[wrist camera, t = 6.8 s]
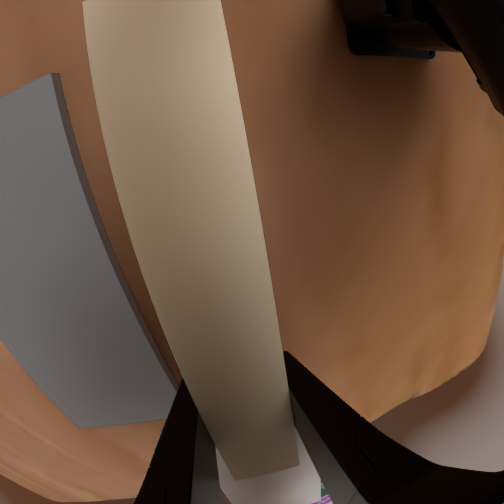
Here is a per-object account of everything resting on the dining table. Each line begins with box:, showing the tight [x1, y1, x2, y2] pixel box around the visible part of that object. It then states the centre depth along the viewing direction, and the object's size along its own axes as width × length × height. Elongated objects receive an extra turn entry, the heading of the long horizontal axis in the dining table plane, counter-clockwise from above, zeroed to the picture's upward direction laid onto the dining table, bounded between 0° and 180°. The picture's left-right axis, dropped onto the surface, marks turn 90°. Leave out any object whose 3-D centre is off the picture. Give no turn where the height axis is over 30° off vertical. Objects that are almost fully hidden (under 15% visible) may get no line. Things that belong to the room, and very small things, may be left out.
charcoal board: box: [0, 73, 179, 428], centre depth 19 cm, size 12×28×1 cm, turn 9°
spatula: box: [83, 0, 321, 504], centre depth 10 cm, size 5×24×3 cm, turn 9°
